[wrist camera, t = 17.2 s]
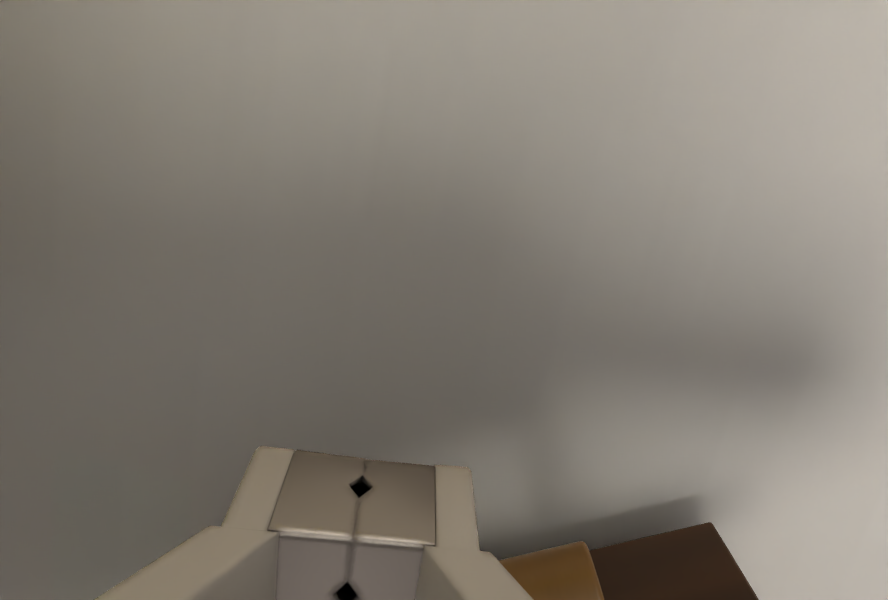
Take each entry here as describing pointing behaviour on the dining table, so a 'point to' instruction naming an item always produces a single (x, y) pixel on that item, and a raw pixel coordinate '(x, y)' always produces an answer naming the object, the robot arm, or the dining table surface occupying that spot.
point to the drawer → (635, 569)
